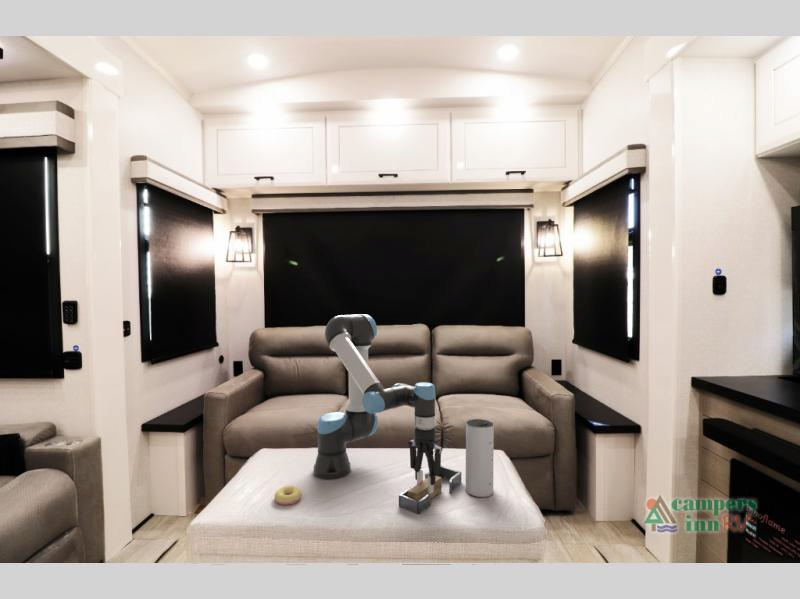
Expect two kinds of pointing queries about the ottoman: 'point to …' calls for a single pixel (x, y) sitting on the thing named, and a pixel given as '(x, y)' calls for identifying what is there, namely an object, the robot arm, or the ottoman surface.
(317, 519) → the ottoman surface
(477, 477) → the speaker
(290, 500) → the donut
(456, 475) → the cap
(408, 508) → the cap
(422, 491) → the slat
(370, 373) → the robot arm
